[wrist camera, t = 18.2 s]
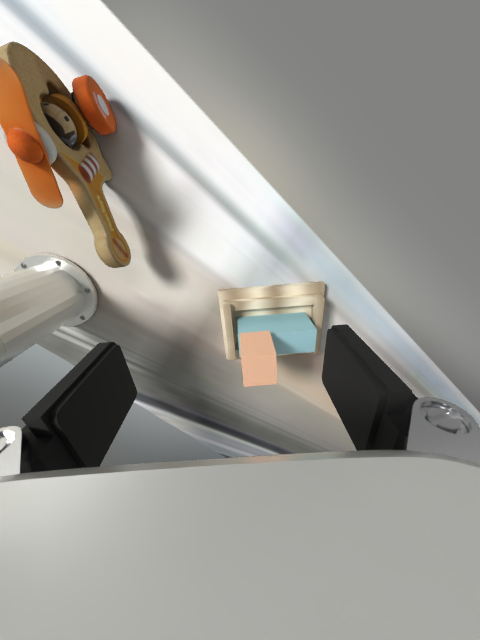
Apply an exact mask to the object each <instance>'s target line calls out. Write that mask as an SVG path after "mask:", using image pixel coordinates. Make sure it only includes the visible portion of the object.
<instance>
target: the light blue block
mask: <svg viewBox="0 0 480 640" xmlns="http://www.w3.org/2000/svg"><path fill="white" fill-rule="evenodd" d="M237 323H238V344H239V355H240V357H241V351H240V333H247V332H258V331H270V334H271V337H272V341H273V344H274V348H275V351H276V355H277V354H291V353H305V352H315V345H316V335H317V329H316V328H315V326H314V325H313V323H312V322H311V320H310V319H309V317H308V316H307V314H306V313H305V312H298V313H285V314H271V315H258V316H244V317H237Z"/></svg>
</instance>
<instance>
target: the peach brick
mask: <svg viewBox="0 0 480 640" xmlns="http://www.w3.org/2000/svg"><path fill="white" fill-rule="evenodd" d="M240 351H241V364H242V373H243V382H244V387H247V386H259V385H270V384H277V365H276V351H275V348H274V344H273V341H272V337H271V334H270V331H258V332H247V333H240Z"/></svg>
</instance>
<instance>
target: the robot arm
mask: <svg viewBox="0 0 480 640" xmlns="http://www.w3.org/2000/svg"><path fill="white" fill-rule="evenodd" d="M97 303H98V298H97V292H96V290H95V287H94V285H93V283H92V281H91V280H90V278H89V277H88V276H87V274H86V273H85V272H84V271H83V270H82V269H81V268H80V267H78V266H77V265H76V264H74V263H73V262H71V261H69V260H67V259H65V258H63V257H60V256H58V255H53V254H36V255H31V256H28V257H26V258H24V259H22V260H21V261H20V262H19V263H18V264H17V266H16V268H15V270H14V272H12V273H8V274H5V275H1V276H0V367H2V366H3V365H4V364H6V363H7V362H9V361H11V360H12V359H13V358H15V357H17V356H18V355H20V354H21V353H23V352H24V351H25V350H27V349H28V348H30V347H31V346H33V345H34V344H36V343H37V342H39V341H40V340H42V339H43V338H45V337H46V336H48V335H49V334H51V333H52V332H54V331H55V330H57V329H58V328H60V327H61V326H76V325H79V324H82V323H84V322H85V321H87V320H88V319H90V318H91V317H92V316H93V314H94V313H95V311H96V308H97ZM322 381H323V384H324V386H325V388H326V390H327V392H328V394H329V396H330V398H331V400H332V402H333V404H334V406H335V408H336V410H337V412H338V414H339V416H340V418H341V420H342V422H343V424H344V426H345V428H346V430H347V432H348V434H349V436H350V438H351V440H352V442H353V444H354V445H355V447H356V449H357V451H337V452H317V453H300V454H284V455H267V456H251V457H235V458H220V459H205V460H190V461H175V462H160V463H145V464H131V465H118V466H105V467H99V466H100V464H101V462H102V461H103V459H104V456H105V455H106V453H107V451H108V449H109V447H110V445H111V444H112V442H113V440H114V438H115V436H116V434H117V432H118V430H119V428H120V427H121V425H122V423H123V421H124V419H125V417H126V415H127V413H128V411H129V410H130V408H131V406H132V404H133V402H134V400H135V398H136V395H137V390H136V387H135V384H134V382H133V379H132V377H131V374H130V371H129V369H128V366H127V364H126V361H125V358H124V356H123V353H122V350H121V348H120V346H119V345H116V344H115V343H114V342H107V343H99V344H97V345H96V346H95V347H94V348H93V349H92V350H91V351H90V352H89V353H88V354H87V355H86V356H85V357H84V358H83V359H82V360H81V361H80V362H79V363H78V364H77V365H76V366H75V367H74V368H73V369H72V370H71V371H70V372H69V373H68V374H67V375H66V376H65V377H64V378H63V379H62V380H61V381H60V382H59V383H58V384H57V385H56V386H55V387H53V389H51V390H50V391H49V392H48V393H47V394H46V395H45V396H44V397H43V398H42V399H41V400H40V401H39V402H38V403H37V404H36V405H35V406H34V407H33V408H32V409H31V410H30V411H29V412H28V413H27V414H26V415H25V416H24V417H23V418H22V420H23V421H24V422H25V424H26V426H25V427H24V428H23V429H21V428H19V427H17V426H9V427H4V428H1V429H0V640H480V428H479V426H478V424H477V422H476V421H475V420H474V419H473V417H472V416H471V415H469V414H468V413H467V412H466V411H464V410H463V409H461V408H460V407H458V406H456V405H454V404H452V403H450V402H447V401H445V400H441V399H437V398H431V397H424V398H419V399H418V398H417V397H416V396H415V395H414V394H413V393H412V390H411V389H410V388H409V387H408V386H407V385H406V384H405V383H404V382H403V381H402V380H401V379H400V378H399V377H398V376H397V375H396V374H395V373H394V372H393V371H392V370H391V369H390V368H389V367H388V366H387V365H386V364H385V363H384V362H383V361H382V360H381V359H380V358H379V357H378V356H377V355H376V354H375V353H374V352H373V351H372V349H371V348H370V347H369V346H368V345H367V344H366V343H365V342H364V341H363V340H362V339H361V338H360V337H359V336H358V335H357V334H356V333H355V332H354V331H353V330H352V329H351V328H350V327H349V326H348V325H333V326H332V328H331V329H328V331H327V338H326V347H325V355H324V364H323V372H322Z"/></svg>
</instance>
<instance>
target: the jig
mask: <svg viewBox="0 0 480 640" xmlns="http://www.w3.org/2000/svg"><path fill="white" fill-rule="evenodd" d="M324 290H325V283H324V282H311V283H298V284H285V285H272V286H260V287H247V288H234V289H222V290H218V296H219V304H220V312H221V320H222V328H223V336H224V344H225V352H226V359H229V360H236V359H239V358H241V357H240V355H239V344H238V323H237V317H244V316H258V315H271V314H285V313H298V312H305V313H306V314H307V316H308V317H309V319H310V320H311V322H312V323H313V325H314V326H315V328H316V329H317V335H316V345H315V352H305V353H291V354H277V355H276V356H280V355H294V354H307V353H312V354H319V350H320V340H321V331H322V321H323V312H324V302H325V298H324Z"/></svg>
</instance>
